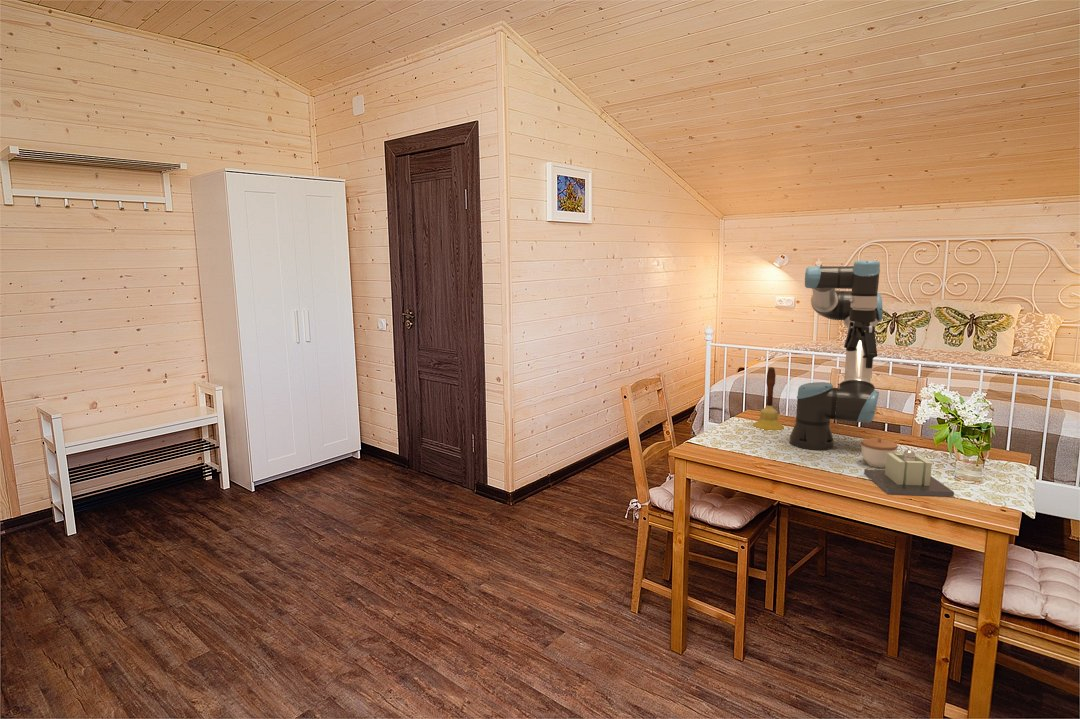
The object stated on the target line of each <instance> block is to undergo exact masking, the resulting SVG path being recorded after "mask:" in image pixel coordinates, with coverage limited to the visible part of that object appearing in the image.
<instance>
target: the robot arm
mask: <svg viewBox="0 0 1080 719" xmlns="http://www.w3.org/2000/svg"><path fill="white" fill-rule="evenodd" d="M880 265H881V264H880V261H879V260H856V261H854V263H853V266H849V265H848V266H838V265H837V266H834V265H833V266H831V265H830V266H828V265H827V266H826V265H825V266H824V265H821V266H819V265H815V266H813V265H812V266H808V267H806V268H805V273H804V288H806V289H812V294H811V299H810V302H811V303H810V304H811V308H812V309H813V310H814V311H815V313H817V314H818V315H820V316H821V317H823V318H826V319H828V320H834V321H843V324H844V326H845V327H846V328H847V335H846V337H845V338H846V339H845V341H844V345H843V346H844V349H845V364H844V375H843V376H844V378H843V381H841V382H840V383H839V384H838V387H834V385H833V383H830V382H825V381H824V382H821V381H816V382H815V381H814V382H807V383H803V384H801V385H800V386H799V387H798V389H797V396H796V400H797V404H796V416H795V424H794V426H793V428H792V431H791V432H790V435H789V443H790V445H792V446H794V447H797V448H800V447H801V449H805V450H814V451H815V450H816V451H825V450H831V449H833V448H834V445H835V444H834V443H835V442H834V441H835V440H834V437H833V433H832V430H831V427H830V426H831V424H830V423H831V420H835V421H836V420H837V421H839V420H840V421H846V422H847V421H848V422H856V423H871V422H873V421H874V419H875V414H876V411H877V404H878V398H879V396H880V391H878V390H875V385H874V384H873V383H872V382H871V379H872V377H873V367H874V366H873V365H874V359H875V358H876V357H878V351H877V341H876V334H875V333H876V332H875V331H876V327H877V326H878V324H879V323H880V322H881V321H883V315H884V313H883V311H884V310H883V300H882V296H881V294H880V292H879V281H880V273H881V266H880ZM837 289H841V290H837ZM843 289H845V290H843Z"/></svg>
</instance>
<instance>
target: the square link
mask: <svg viewBox="0 0 1080 719" xmlns="http://www.w3.org/2000/svg"><path fill="white" fill-rule="evenodd" d="M932 466H933V463H932V462H931V461H929V460H928V459H926V458H925V457H923V456H921V455H919V453H915V461H905V462H904V461H903V453H894V454H892V453H887V457H886V467H885V468H884V470H885V475H886V476H888V477H889V478H890V479H891V480H893V481H894V482H895V483H896V484H898V485H903V483H904V484H905V485H922V484H923V485H924V486H930V477H932ZM904 468H905V471H904ZM903 479H904V482H903Z"/></svg>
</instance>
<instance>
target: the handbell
mask: <svg viewBox="0 0 1080 719" xmlns="http://www.w3.org/2000/svg"><path fill="white" fill-rule="evenodd" d="M776 377H777V376H776V369H775V367H773V366H772V367H768V369H767V374H766V385H767V394H766V395H767V397H766V398H767V399H766V405H765V407H764V408H762V409H761V410H760V418H759V419H758V421H756V422H754V423H753V424H752V427H753V426H754V427H756V428H755V429H757V428H760V429H764V430H763V431H767V430H780V431H783V430H785V427H784V425H782V423H780V421H779V419H778V411H777V410H776V409H775V408H774V407H773V399H774V387H775V385H776ZM754 427H753V428H754ZM760 429H759V430H760ZM782 429H783V430H782Z"/></svg>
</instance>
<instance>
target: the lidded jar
mask: <svg viewBox="0 0 1080 719" xmlns="http://www.w3.org/2000/svg"><path fill="white" fill-rule="evenodd" d="M898 448H899V447H898V443H896V442H894V441H891V440H888V439H883V438H882V437H877V438H875V437H874V438H872V437H870V438H863V439H862V440H861V448H860V450H861V455H862V457H863V460H864V461H865V462H866V463H867V465H868V466H871V467H873V468H874V467H875V468H883V469H885V468H886V457H887V453H892V454H894V453H897V452H898Z"/></svg>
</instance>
